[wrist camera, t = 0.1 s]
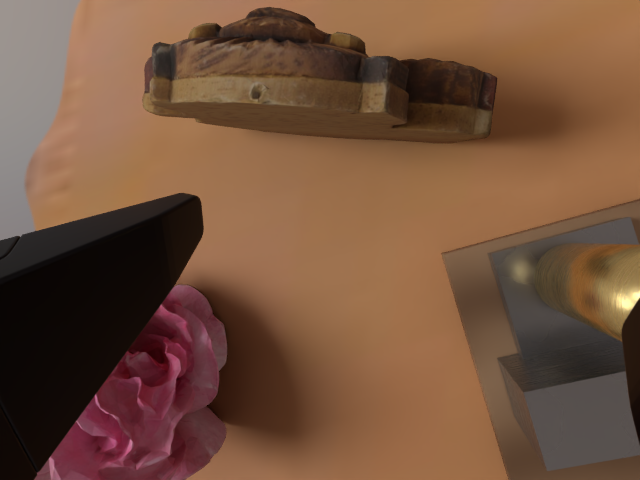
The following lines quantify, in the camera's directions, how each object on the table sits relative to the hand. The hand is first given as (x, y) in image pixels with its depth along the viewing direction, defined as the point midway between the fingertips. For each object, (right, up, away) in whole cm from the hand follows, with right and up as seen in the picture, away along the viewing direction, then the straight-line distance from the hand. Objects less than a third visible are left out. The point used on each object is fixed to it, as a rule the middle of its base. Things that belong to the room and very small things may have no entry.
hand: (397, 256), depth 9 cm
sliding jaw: (+10, -3, +12) cm, 16 cm away
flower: (-11, -7, +18) cm, 22 cm away
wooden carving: (-1, +7, +16) cm, 17 cm away
